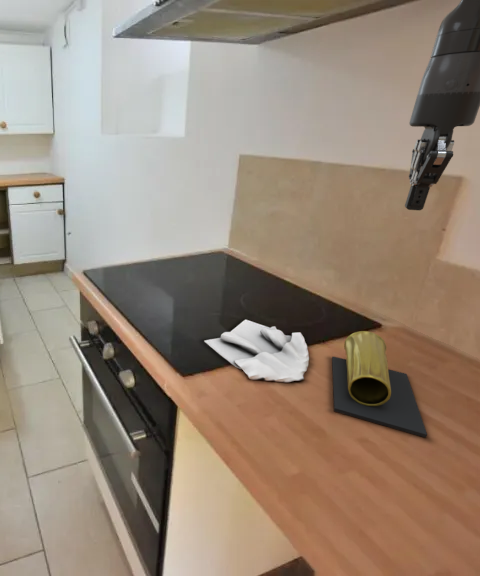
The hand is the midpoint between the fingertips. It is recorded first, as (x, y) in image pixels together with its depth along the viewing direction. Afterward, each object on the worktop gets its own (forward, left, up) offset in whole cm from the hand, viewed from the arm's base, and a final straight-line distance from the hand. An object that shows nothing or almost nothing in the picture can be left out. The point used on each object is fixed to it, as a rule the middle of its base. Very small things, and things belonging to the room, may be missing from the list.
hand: (413, 209), depth 63 cm
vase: (+2, +6, -23) cm, 24 cm away
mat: (+1, +15, -27) cm, 31 cm away
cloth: (+18, +9, -27) cm, 34 cm away
